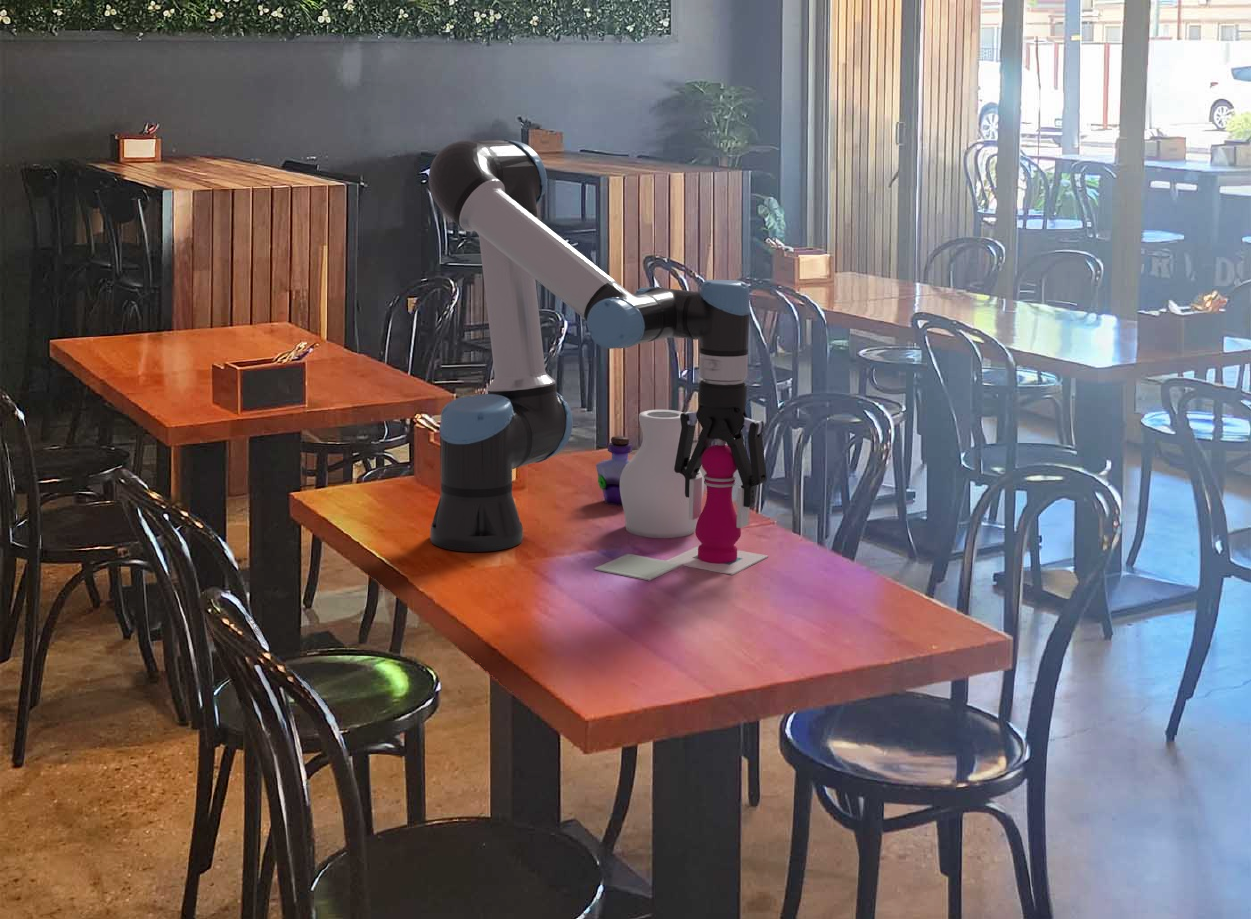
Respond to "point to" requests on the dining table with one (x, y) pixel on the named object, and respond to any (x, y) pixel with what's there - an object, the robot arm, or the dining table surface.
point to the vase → (656, 481)
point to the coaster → (638, 567)
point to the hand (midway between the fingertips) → (718, 521)
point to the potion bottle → (613, 469)
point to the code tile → (730, 568)
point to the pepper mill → (718, 507)
